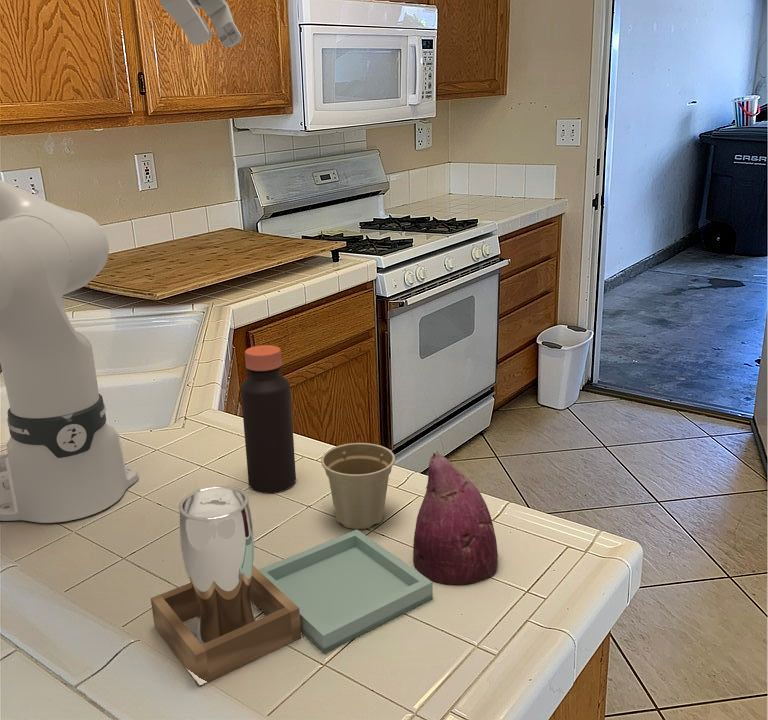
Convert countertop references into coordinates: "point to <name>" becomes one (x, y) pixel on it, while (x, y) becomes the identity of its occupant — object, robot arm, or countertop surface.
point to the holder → (234, 645)
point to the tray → (347, 588)
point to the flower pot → (358, 482)
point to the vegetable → (453, 529)
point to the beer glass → (218, 558)
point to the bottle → (267, 421)
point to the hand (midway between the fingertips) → (220, 43)
